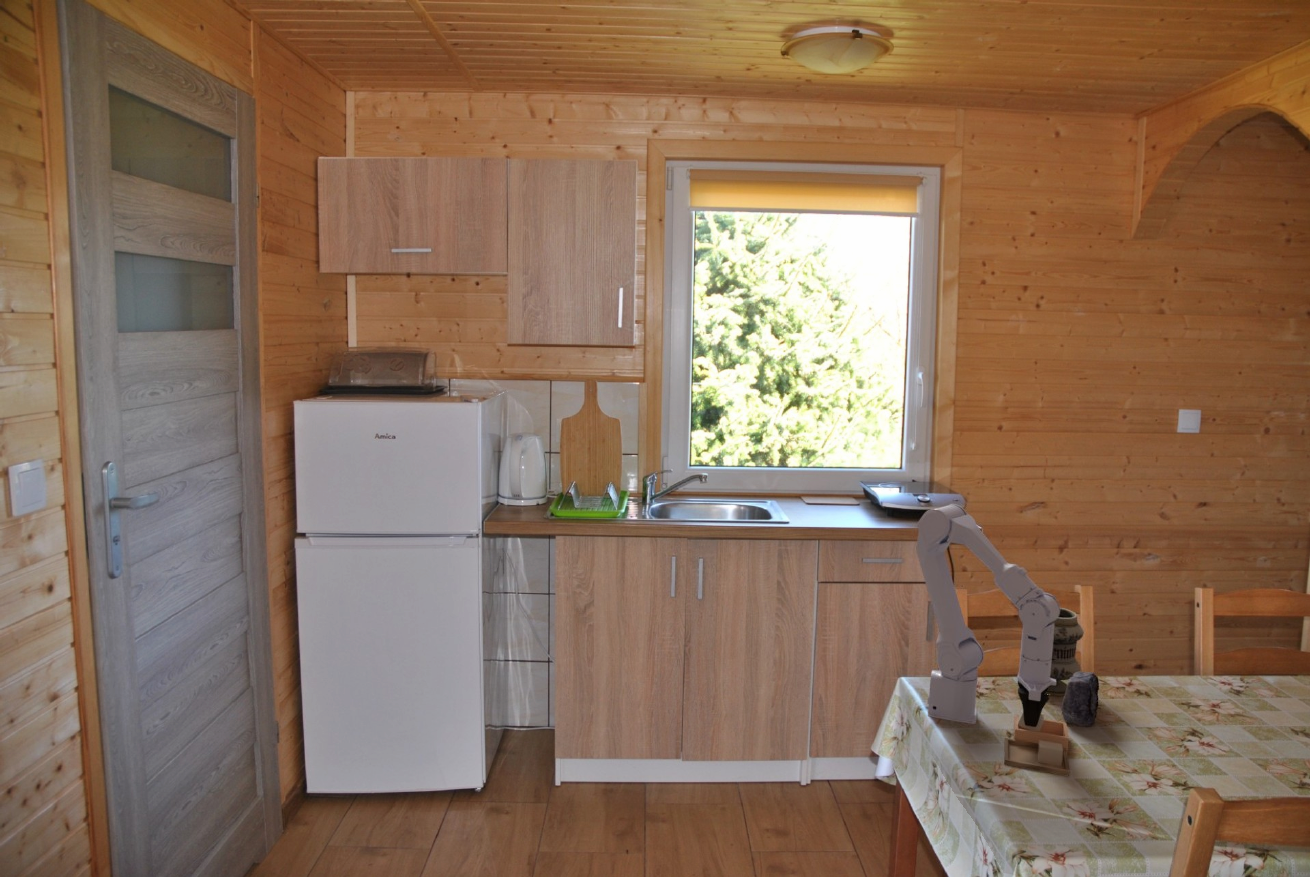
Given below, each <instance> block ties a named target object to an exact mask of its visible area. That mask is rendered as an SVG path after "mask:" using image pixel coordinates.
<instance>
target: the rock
mask: <svg viewBox="0 0 1310 877" xmlns="http://www.w3.org/2000/svg"><path fill="white" fill-rule="evenodd" d="M1099 690H1100V683H1099V677H1098V676H1097V675H1096V674H1095V673H1094V672H1092V671H1088V672H1087V671H1086V672H1084V671H1081V670H1080V671H1079V672H1076V673H1074V675H1073V677H1071V678H1070V679H1068V681H1067V688H1066V692H1065V696H1063V699H1062V703H1061V707H1060V709H1061V715H1062V718H1063V720H1064V722H1065V723H1066V724H1067V723H1068V724H1072V725H1076V726H1077V725H1078V726H1079V727H1092V726H1093V725H1094V723H1095V721H1096V718H1097V714H1098V707H1099Z"/></svg>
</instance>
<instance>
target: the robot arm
mask: <svg viewBox="0 0 1310 877" xmlns="http://www.w3.org/2000/svg"><path fill="white" fill-rule="evenodd" d="M916 524H917V528H918V533H917V534H918V536H917V538H916V540H917V541H916V544H915V545H916V546H915V549H916V554H917V558H918V561H919V565H920V568H921V572H922V575H923V579H924V582H925V585H926V589H927V590H926V591H927V592H928V596H929V599H930V604H931V606H932V610H933V612H934V617H935V619H936V620H935V621H936V624H937V627H938V631H939V632H938V636H937V639H936V641H935V647H936V651H937V653H936V654H937V655H936V664H937V665H936V666H937V667H938V670H937V669H936V670H935V669H932V670H931V673H930V681H929V682H930V683H929V694H928V696H927V705H928V707H927V708H928V709H927V717H931V718H935V719H936V718H937V719H942V720H947V721H952V722H959V723H963V724H971V725H976V724H977V712H978V710H977V708H976V702H977V701H976V700H977V699H976V698H977V688H978V687H977V685H978V676H979V675H978V667H980V666H981V665H982V664H983V662H984V661H985V652H984V648H983V647H982V645H981V644H980V643H979V642H978V640H977V638H976V636H975V632H974V631H973V630H972V629H970V628H969V627H968V626H967V624H966V623H965V619H964V615H963V612H962V609H961V608H962V607H961V605H960V601H959V598H958V594H957V592H956V591H957V590H956V587H955V585H954V582H953V578H952V575H951V570H950V568H949V564H948V560H947V557H946V550H947V549H948V547H949V546H950V545H951V543H952V544H956V545H957V544H958V545H962V546H963V545H964V546H966V547H967V548H968V550H970V551H971V553H973V555H975V556H976V557H977V559H979V560H980V561H981V562H982V563H983V564H984V565H985V566H986V567H987V568H988V570H990V571H991V572H992V573H993V576H994V578H993V581H994V584H995V585H996V586H997V587H998V588H999V590H1000V591H1001V592H1002V593H1003V594H1004V595H1005V596H1006V598H1007V599H1009V601H1010V602H1011V603H1012V604H1013V605H1014V606H1015V607H1016V609H1018V617H1019V620H1020V622H1021V623H1022V630H1021V641H1020V642H1021V643H1020V644H1021V645H1020V654H1019V665H1018V673H1017V675H1016V676H1017V677H1016V679H1017V686H1018V688H1017V694H1018V696H1019V699H1020V701H1021V706H1022V708H1023V715H1024V723H1025V725H1026V726H1032V727H1036V726H1037V724H1038V721H1039V718H1040V715H1041V714H1042V711H1043V710H1044V708H1045V706H1046V704H1047V703H1048V702H1049V700H1050V695H1047V694H1045V693H1046V691H1047V690H1048V686H1050V685H1054V686H1055V685H1056V679H1052V678H1050V673H1051V662H1052V651H1053V639H1054V624H1055V623H1051V622H1053V621H1055V620H1056V619H1057V618H1058V616H1059V614H1060V608H1061V606H1060V603H1059V601H1058V600H1057V598H1056V596H1055V595H1053V594H1051V593H1049V592H1045V590H1044V589H1043V588H1042V587H1039V586H1038V585H1036V583H1035V582H1034V581H1033V580H1032V579H1031V578H1030V577H1029V576H1028V575H1027V574H1028V571H1027V569H1026V568H1025V567H1023V566H1021V567H1020V566H1019V565H1018V564H1016V563H1008V562H1007V561H1006V559H1005V558H1004V557H1003V555H1002V554H1001V553H1000V552H999V551H998V550H997V548H996V547H995V546H994V545H993V543H992V542H991V541H990V540H989V539H988V538H987V536H986V535H985V534H984V533H983V532H982V530H981V529H980V528H979V527H978V525H977V522H976V520H975V518H974V517H973V516H971V515H970V514H969V513H968V512H967V510H966V509H965V508H964V507H963V506H961V505H959V504H957V503H949V504H947V505H945V506H941V507H937V508H931V509H928V510H926V511H925V512H924V513H923V514H922V516H921V517H920V519H919V520H918V522H917V523H916Z"/></svg>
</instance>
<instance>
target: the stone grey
mask: <svg viewBox="0 0 1310 877" xmlns="http://www.w3.org/2000/svg"><path fill="white" fill-rule="evenodd" d="M1018 715H1019V716H1018V718H1017V725H1019V726H1021V727H1023V728H1026V729H1028V730H1030V731H1035V732H1039V731H1040V729H1041V727H1042V724H1043V722H1044V719H1045V716H1044V715H1043V714H1042V713H1041V715H1040V718H1039V721H1038V724H1037V726H1036V727H1032V726H1026V725H1025V723H1024V715H1023V707H1022V708H1021V710H1020V712H1019V714H1018Z"/></svg>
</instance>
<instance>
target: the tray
mask: <svg viewBox="0 0 1310 877" xmlns="http://www.w3.org/2000/svg"><path fill="white" fill-rule="evenodd" d="M1038 746H1039V744H1038V743H1032V742H1026V741H1020V740H1015V739H1014V738H1007V737H1005V738H1004V765H1007V766H1011V767H1012V766H1013V767H1018V768H1023V769H1029V770H1034V771H1039V772H1045V773H1051V774H1056V775H1061V776H1066V777H1070V766H1069V758H1068V752H1067V751H1066V748H1063V755H1062V766H1057V765H1052V764H1046V763H1041V762H1038Z"/></svg>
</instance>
